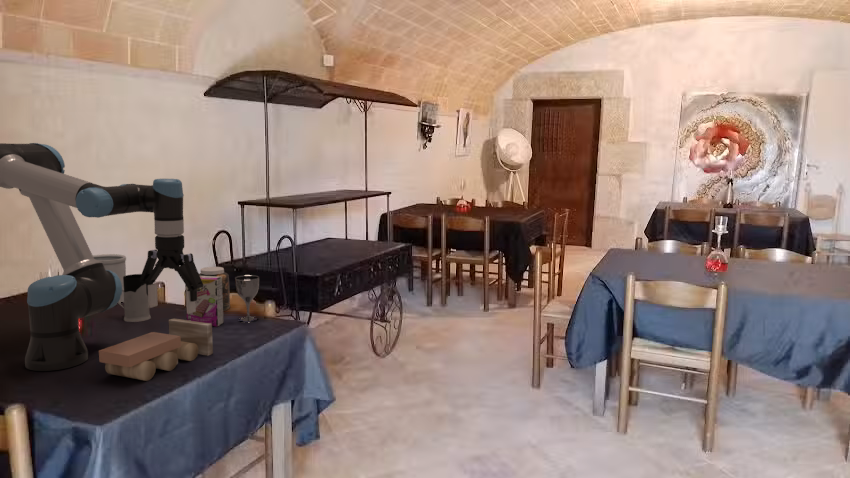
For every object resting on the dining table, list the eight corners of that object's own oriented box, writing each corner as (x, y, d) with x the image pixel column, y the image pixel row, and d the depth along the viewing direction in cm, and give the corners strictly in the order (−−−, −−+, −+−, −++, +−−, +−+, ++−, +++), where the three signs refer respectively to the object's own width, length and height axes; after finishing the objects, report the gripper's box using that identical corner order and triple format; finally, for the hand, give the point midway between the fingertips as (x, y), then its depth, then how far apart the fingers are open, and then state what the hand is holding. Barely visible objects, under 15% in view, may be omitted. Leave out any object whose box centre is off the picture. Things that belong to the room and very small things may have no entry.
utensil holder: (122, 295, 254) (119, 252, 252) (133, 303, 243) (130, 257, 240) (81, 301, 245) (78, 256, 242) (90, 309, 233) (87, 262, 231)
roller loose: (186, 363, 178) (185, 347, 177) (155, 358, 182) (154, 342, 181) (199, 357, 182) (197, 340, 181) (168, 352, 186) (166, 336, 185)
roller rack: (144, 384, 162) (142, 349, 160) (102, 376, 167) (100, 343, 165) (212, 353, 186) (211, 323, 184) (174, 347, 191) (173, 318, 189)
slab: (129, 367, 159) (128, 355, 159) (99, 361, 163) (98, 350, 162) (180, 346, 176) (180, 336, 176) (152, 342, 180) (152, 331, 179)
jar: (191, 312, 231) (190, 271, 228) (203, 304, 242) (202, 265, 240) (224, 312, 230) (222, 272, 228) (234, 304, 242) (233, 266, 240)
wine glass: (235, 317, 224) (234, 275, 222) (258, 315, 227) (257, 274, 225) (237, 323, 217) (236, 280, 214) (261, 321, 219) (260, 279, 217)
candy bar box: (186, 325, 213) (183, 277, 211) (192, 321, 218) (190, 274, 216) (218, 327, 212) (216, 278, 210) (224, 323, 217) (222, 275, 215)
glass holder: (141, 322, 217) (139, 279, 214) (103, 320, 219) (100, 277, 217) (156, 315, 225) (154, 274, 223) (119, 313, 227) (117, 272, 225)
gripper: (215, 236, 175) (216, 311, 178) (145, 229, 184) (147, 301, 187) (196, 240, 168) (198, 318, 171) (124, 233, 177) (127, 307, 180)
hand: (171, 309), depth 179 cm, fingers open, 13 cm apart
